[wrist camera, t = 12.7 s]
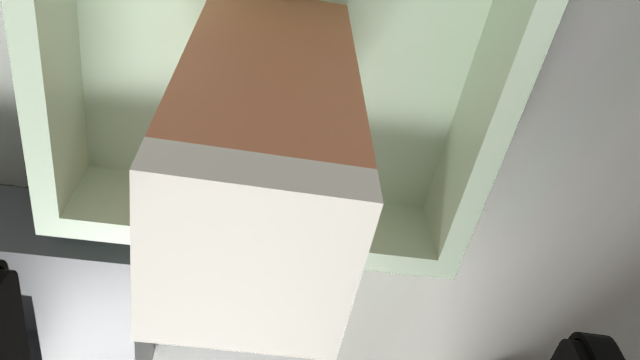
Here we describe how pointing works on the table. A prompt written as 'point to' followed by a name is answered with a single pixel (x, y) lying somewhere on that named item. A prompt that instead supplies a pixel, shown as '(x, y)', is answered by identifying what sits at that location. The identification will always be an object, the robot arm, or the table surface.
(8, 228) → the grey block
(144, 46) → the tray
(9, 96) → the table surface
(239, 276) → the plug
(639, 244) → the table surface
